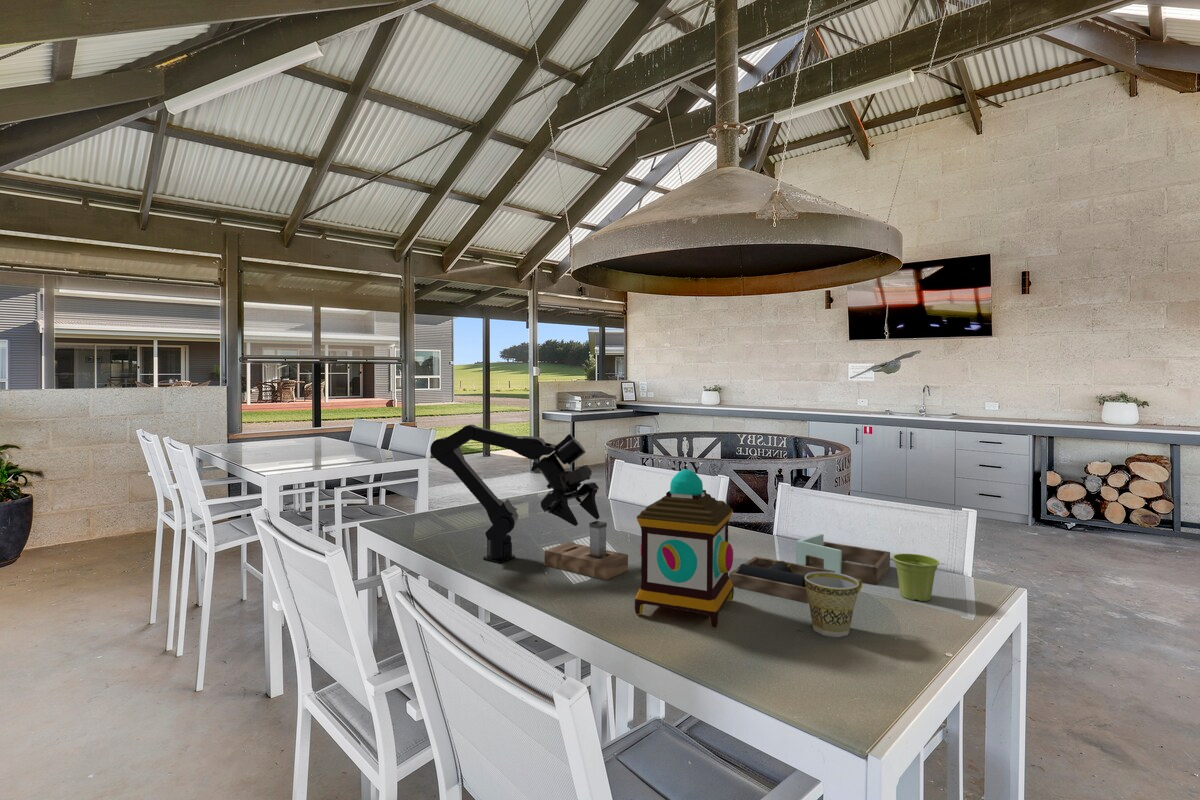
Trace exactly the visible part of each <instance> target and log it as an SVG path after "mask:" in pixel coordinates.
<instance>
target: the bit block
mask: <svg viewBox="0 0 1200 800" xmlns="http://www.w3.org/2000/svg"><path fill="white" fill-rule="evenodd" d="M544 566H546V567H550V568H554V569H559V570H562V571H566V572H570V573H574V574H579V575H583V576H587V577H591V578H594V577H595V579H599V580H602V579H603V581H607V580H610V579H611V578H614V577H616V576H619V575H620V574H623V573H625V572H627V571H629V554H627V553H624V552H623V553H622V552H618V551H612V550H608V549H606V557H604V558H602V559H597V558H593V557H590V545H589V546H588V545H583V544H579V543H574V542H570V541H569V542H568V541H567V542H565V543H562V544H559V545H556V546H554V547H550V548H547V549H545V550H544Z"/></svg>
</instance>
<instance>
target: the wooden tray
mask: <svg viewBox="0 0 1200 800" xmlns="http://www.w3.org/2000/svg"><path fill="white" fill-rule="evenodd" d="M775 561H776V559H771V558H765V557H761V556H753V557H752V558H751V559H750V560H748V561H746V562H745V563H744V564H747V565H752V566H758V567H763V568H770V567H771V566H772V563H774V562H775ZM777 561H779V560H777ZM792 563H793V562H792ZM739 567H740V566H738V567H737V568H735V569H734V570H732V571H731V572H728V575H729V578H730V580H731V582H732V584H733V587H734V588H738V589H742V590H743V589H744V590H747V591H752V592H755V593H761V594H765V595H771V596H774V597H779V598H784V599H789V600H793V601H798V602H802V603H806V604H809V600H808V597H807V592H806V587H801V586H796V585H791V584H787V583H782V582H777V581H772V580H767V579H762V578H757V577H752V576H747V575H742V574H738V570H739ZM811 572H834V573H835V571H833V570H827V569H822V568H816V567H811V566H805V565H800V564H796V563H793V573H794V574H800V575H806V574H808V573H811Z"/></svg>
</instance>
